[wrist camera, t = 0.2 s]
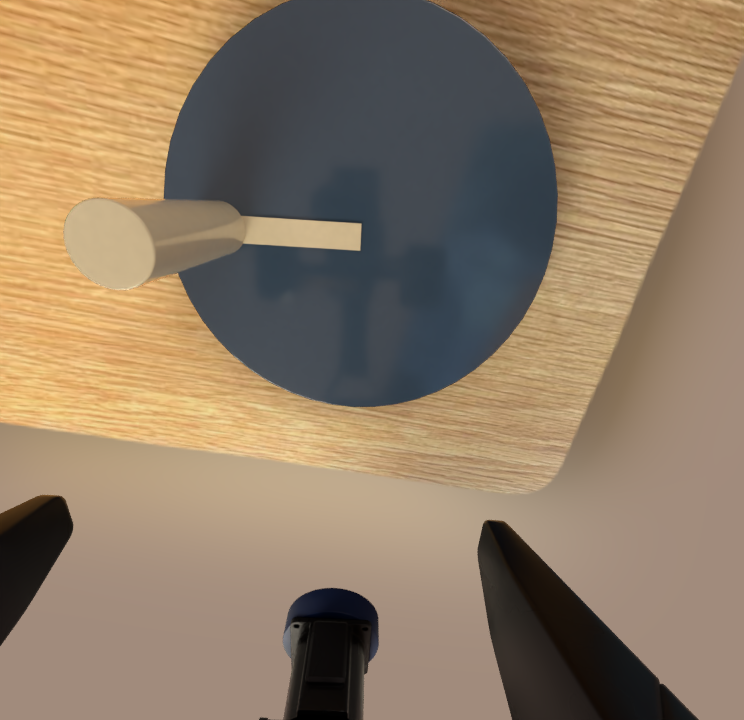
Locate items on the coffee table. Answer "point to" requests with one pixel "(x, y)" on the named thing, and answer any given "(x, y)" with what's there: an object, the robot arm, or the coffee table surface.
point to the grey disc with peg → (345, 201)
